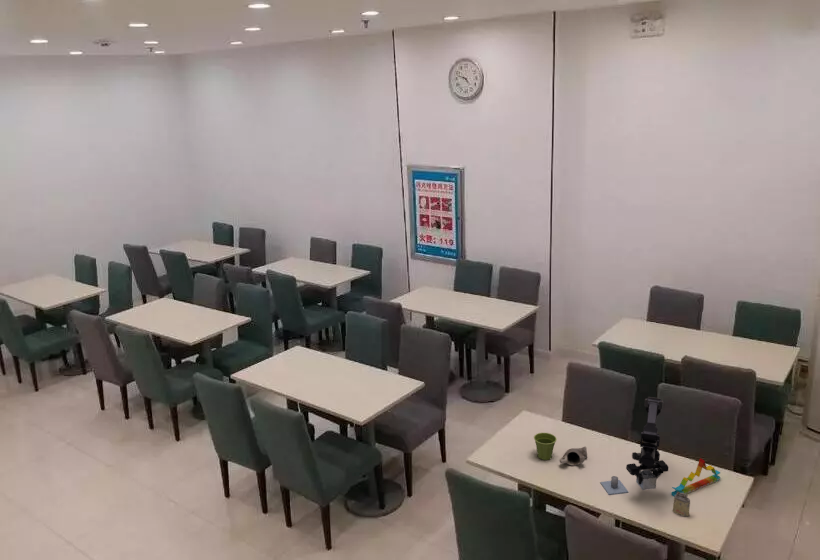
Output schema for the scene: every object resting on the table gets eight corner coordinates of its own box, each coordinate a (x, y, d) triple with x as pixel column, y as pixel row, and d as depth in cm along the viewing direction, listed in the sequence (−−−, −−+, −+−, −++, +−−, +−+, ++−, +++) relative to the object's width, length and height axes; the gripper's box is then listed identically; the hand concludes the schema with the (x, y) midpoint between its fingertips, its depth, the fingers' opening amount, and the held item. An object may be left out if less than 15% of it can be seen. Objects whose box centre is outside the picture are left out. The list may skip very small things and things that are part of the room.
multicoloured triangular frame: (676, 499, 308) (679, 471, 304) (671, 495, 311) (673, 468, 307) (720, 480, 321) (723, 454, 317) (715, 477, 324) (718, 450, 319)
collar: (649, 480, 313) (649, 469, 312) (655, 488, 307) (656, 477, 305) (636, 482, 313) (636, 471, 311) (642, 490, 306) (643, 479, 305)
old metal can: (689, 513, 297) (691, 495, 294) (687, 518, 294) (689, 499, 291) (673, 508, 301) (675, 489, 298) (671, 512, 298) (673, 493, 296)
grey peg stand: (619, 480, 323) (620, 471, 321) (628, 492, 314) (629, 482, 312) (600, 483, 322) (600, 473, 320) (608, 495, 312) (609, 485, 311)
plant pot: (560, 457, 345) (561, 439, 341) (544, 465, 338) (545, 446, 335) (544, 448, 354) (545, 429, 351) (528, 455, 348) (529, 437, 344)
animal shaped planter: (565, 472, 346) (567, 473, 332) (555, 457, 349) (556, 457, 334) (591, 455, 346) (593, 455, 331) (581, 440, 348) (583, 440, 334)
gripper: (658, 443, 314) (656, 471, 318) (621, 447, 311) (620, 475, 316) (670, 455, 303) (667, 484, 308) (632, 460, 301) (630, 489, 305)
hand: (646, 483), depth 309 cm, fingers closed on collar, 7 cm apart
